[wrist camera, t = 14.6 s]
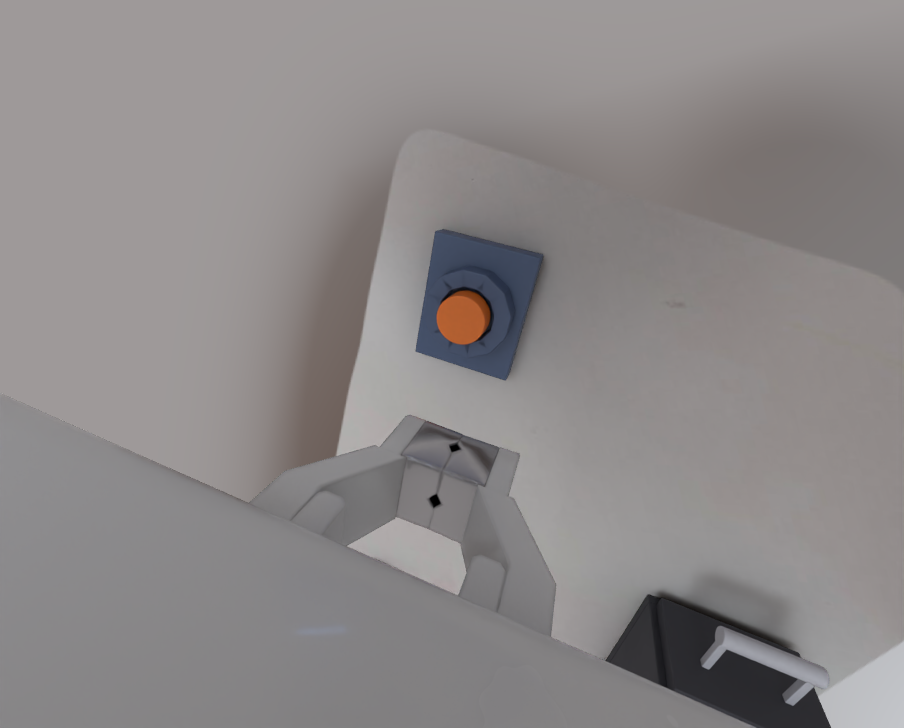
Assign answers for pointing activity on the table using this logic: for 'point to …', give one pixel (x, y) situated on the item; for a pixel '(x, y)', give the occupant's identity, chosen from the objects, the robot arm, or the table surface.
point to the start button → (463, 317)
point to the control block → (496, 280)
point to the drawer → (739, 671)
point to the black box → (642, 645)
